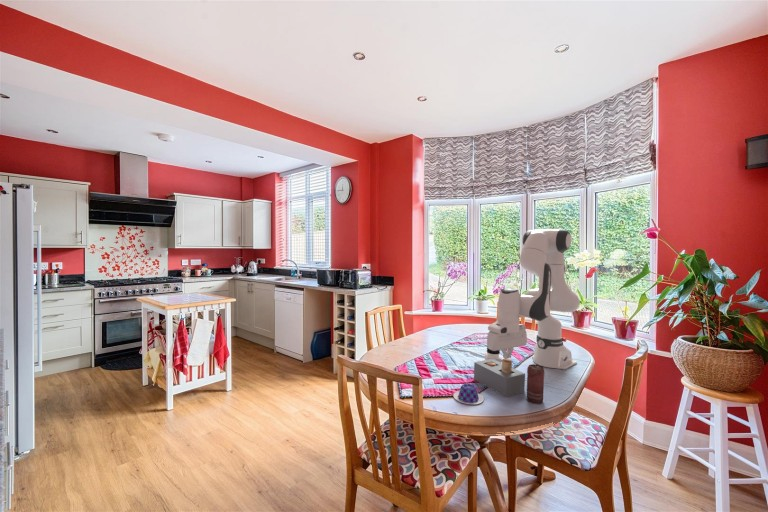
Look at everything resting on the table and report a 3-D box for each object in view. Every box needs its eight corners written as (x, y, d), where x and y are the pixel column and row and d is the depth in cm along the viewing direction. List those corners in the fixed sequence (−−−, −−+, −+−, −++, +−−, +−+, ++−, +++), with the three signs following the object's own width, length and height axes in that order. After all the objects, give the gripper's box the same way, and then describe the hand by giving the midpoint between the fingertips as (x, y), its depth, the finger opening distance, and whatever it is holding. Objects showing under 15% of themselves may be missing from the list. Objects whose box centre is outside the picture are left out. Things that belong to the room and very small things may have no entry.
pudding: (448, 393, 139) (448, 381, 139) (474, 390, 142) (474, 378, 142) (461, 407, 128) (461, 394, 127) (489, 404, 131) (489, 391, 130)
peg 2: (506, 374, 145) (506, 357, 145) (513, 378, 142) (514, 360, 141) (499, 376, 144) (500, 359, 143) (506, 379, 140) (507, 362, 140)
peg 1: (490, 377, 154) (491, 361, 153) (497, 380, 150) (497, 364, 150) (484, 379, 152) (484, 363, 151) (490, 382, 148) (491, 366, 148)
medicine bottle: (501, 372, 161) (502, 348, 160) (485, 371, 162) (486, 347, 161) (499, 367, 168) (499, 344, 167) (484, 366, 169) (485, 343, 168)
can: (523, 397, 136) (524, 363, 136) (537, 396, 137) (539, 363, 136) (530, 404, 130) (532, 369, 130) (546, 404, 131) (547, 369, 130)
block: (491, 375, 158) (492, 358, 158) (524, 391, 141) (525, 373, 140) (473, 379, 153) (474, 362, 153) (505, 397, 136) (506, 378, 136)
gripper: (519, 321, 149) (518, 352, 150) (484, 326, 140) (483, 358, 141) (531, 325, 143) (530, 356, 144) (496, 330, 134) (494, 363, 135)
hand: (507, 357), depth 142 cm, fingers closed
